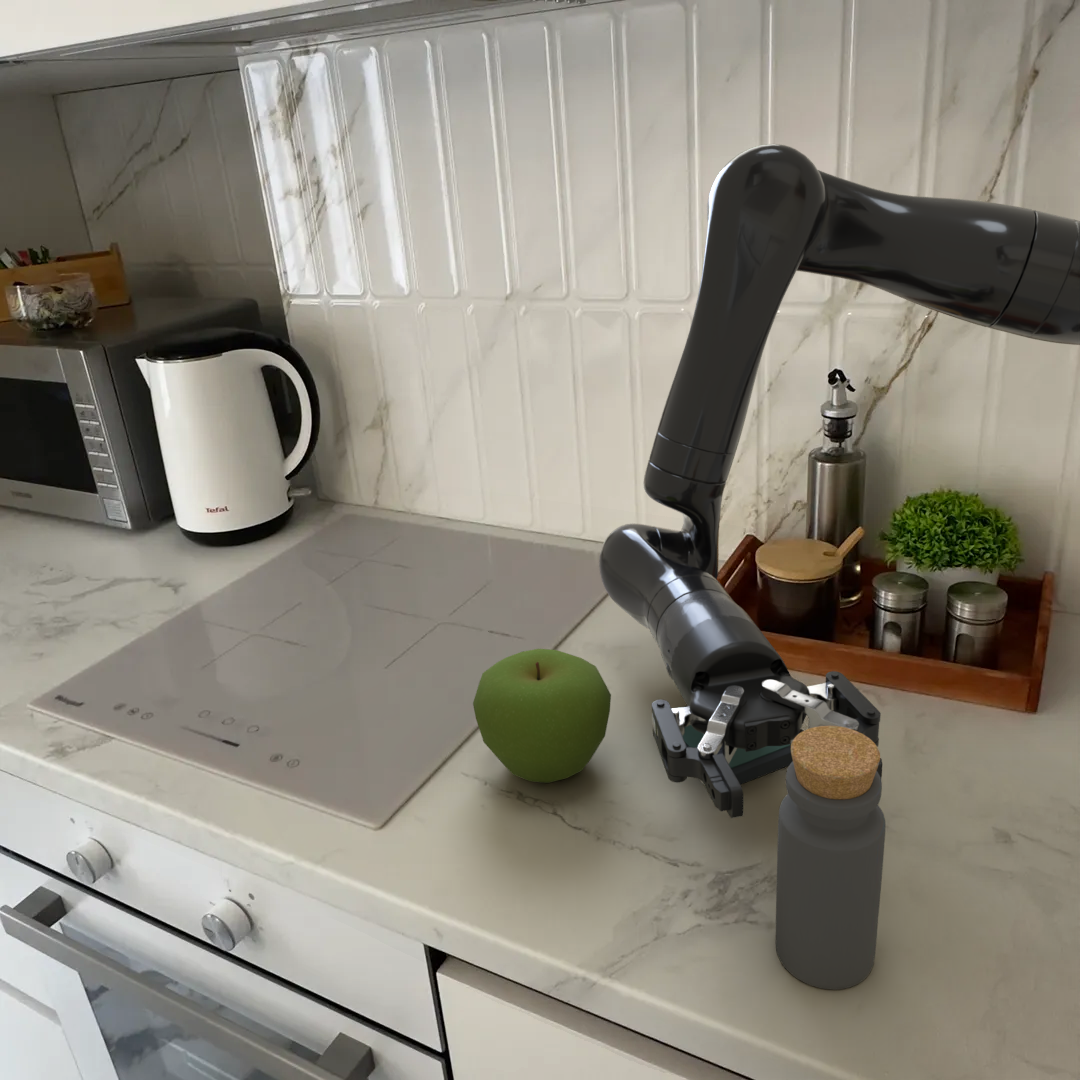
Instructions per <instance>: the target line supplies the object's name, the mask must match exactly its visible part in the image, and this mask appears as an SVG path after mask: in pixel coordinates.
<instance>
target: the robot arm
mask: <svg viewBox="0 0 1080 1080" xmlns="http://www.w3.org/2000/svg"><path fill="white" fill-rule="evenodd" d="M707 197H708V198H707V203H706V220H707V227H706V228H707V229H706V238H705V247H704V248H705V249H704V256H703V263H702V272H701V278H700V284H699V289H698V293H697V299H696V303H695V306H694V307H695V308H694V312H693V315H692V319H691V323H690V327H689V331H688V334H687V337H686V341H685V344H684V346H683V347H684V348H683V351H682V354H681V356H680V359H679V362H678V365H677V368H676V371H675V373H674V377H673V379H672V382H671V385H670V389H669V391H668V394H667V397H666V400H665V403H664V406H663V410H662V412H661V416H660V419H659V422H658V425H657V430H656V433H655V436H654V440H653V444H652V446H651V451H650V453H649V457H648V460H647V464H646V468H645V471H644V476H643V484H642V485H643V490H644V493H645V494H646V495H647V496H648V497H649V498H650V499H652V500H653V501H654V502H656V503H658V504H659V505H661V506H664V507H666V508H669V509H671V510H674V511H676V512H678V513H680V514H681V515H682V519H683V522H682V526H681V530H677V529H671V528H665V527H660V526H654V525H649V524H643V523H633V522H632V523H626V524H622V525H620V526H618V527H617V528H615V529H613V530H612V531H611V532H610V533H609V534H608V536H607V537H606V538H605V540H604V542H603V543H602V546H601V549H600V551H599V558H598V568H599V569H598V570H599V575H600V579H601V582H602V585H603V587H604V590H605V591H606V593H607V594H608V596H609V597H610V599H611V600H612V601H613V602H614V603H615V604H616V605H617V606H618V607H619V608H620V609H621V610H622V611H624V612H625V613H626V614H627V615H628V616H629V617H631V618H632V619H634V620H635V621H636V622H637V623H638V624H639V625H642V626H643V627H644V628H646V629H648V630H649V632H650V634H651V636H652V638H653V640H654V641H655V643H656V645H657V647H658V649H659V651H660V654H661V658H662V661H663V663H664V665H665V669H666V672H667V675H668V676H669V678H670V679H671V680H672V681H673V683H674V684H675V687H676V688H677V690H678V692H679V694H680V696H681V697H682V699H683V701H684V703H685V704H686V706H681V707H672V706H671V704H670V702H669V701H668V700H666V699H656V700H654V701H652V702H651V723H652V736H653V738H654V742H655V744H656V747H657V750H658V753H659V755H660V759H661V761H662V764H663V767H664V770H665V772H666V776H667V778H668V780H669V781H670V782H673V783H677V784H678V783H679V784H680V783H684V782H686V780H687V779H688V778H696V779H698V781H699V782H700V783H701V784H703V785H704V787H705V789H706V792H707V794H708V795H709V797H710V800H711V801H712V803H713V805H714V807H715V808H716V809H717V810H718V811H720V812H726V813H727V815H728V816H729V818H730V819H736V818H741V817H743V816H744V791H743V787H742V784H740V783H739V781H738V780H737V778H736V776H735V774H734V773H733V771H732V769H731V767H730V765H729V763H730V761H731V759H732V757H733V755H734V754H735V752H736V750H737V748H739V749H744V750H745V751H746V752H748V751H754V750H758V749H761V748H763V747H766V746H783V745H788V744H792V742H793V740H794V738H795V737H796V736H797V735H798V734H799V733H801V732H803V731H805V729H802V728H803V725H804V722H805V720H806V717H807V718H808V727H807V729H810V728H813V727H818V726H840V727H845V728H849V729H852V730H855V731H858V732H860V733H862V734H864V735H865V736H867V737H868V738H870V739H871V740H872V741H873V742H874V743H875V744H876V746H877V747H878V748H879V743H880V737H879V735H880V723H881V716H882V713H881V711H879V709H878V708H877V707H876V706H875V705H874V704H873V703H872V702H871V701H870V700H869V699H868V698H867V697H866V696H865V695H864V694H863V693H862V692H861V691H860V690H859V689H858V687H856V686H855V685H854V684H853V683H852V682H851V681H850V680H849V678H847V677H846V676H845V675H844V674H843V673H842V672H841V671H840V672H839V671H835V670H832V671H828V672H827V673H825V682H822V683H818V684H812V685H808V686H807V685H806V684H805V683H803V682H802V681H799V680H797V679H795V678H794V677H792V676H791V674H790V670H789V669H788V667H787V665H786V663H785V661H784V659H783V658H782V657H781V655H780V654H779V653H778V651H777V650H776V649H775V648H774V646H773V645H772V644H771V643H770V641H769V640H768V639H767V637H766V636H765V634H764V633H763V632H762V631H761V629H760V627H758V625H757V624H756V622H755V621H754V620H753V619H752V618H751V616H750V614H748V613H747V612H746V611H745V610H744V608H743V607H741V605H738V604H737V603H736V602H735V601H734V599H733V598H732V597H731V595H730V594H729V593H728V591H727V590H726V589H725V587H724V586H723V585H722V584H721V583H720V581H719V580H718V575H719V558H720V557H719V554H720V553H719V540H720V539H719V537H720V523H721V511H722V503H723V495H724V491H725V488H726V485H727V481H728V478H729V475H730V472H731V470H732V469H731V468H732V465H733V463H734V460H735V456H736V452H737V451H738V450H737V449H738V446H739V444H740V443H739V442H740V440H741V437H742V433H743V430H744V425H745V422H746V418H747V414H748V411H749V406H750V402H751V398H752V394H753V389H754V386H755V383H756V378H757V375H758V370H759V366H760V363H761V361H762V356H763V353H764V350H765V346H766V344H767V341H768V338H769V335H770V332H771V330H772V327H773V324H774V321H775V319H776V316H777V314H778V312H779V309H780V307H781V304H782V302H783V300H784V297H785V295H786V292H787V291H788V290H789V287H790V285H791V282H792V281H793V278H794V277H795V275H796V273H797V272H802V273H809V274H813V275H814V274H815V275H820V276H821V275H822V276H826V277H827V276H828V277H833V278H839V279H844V280H848V281H853V282H858V283H859V284H860V283H861V284H865V285H868V286H871V287H874V288H876V289H879V290H882V291H884V292H886V293H889V294H892V295H894V296H897V297H899V298H902V299H904V300H906V301H909V302H912V303H913V304H915V305H919V306H921V307H924V308H926V309H929V310H932V311H935V312H937V313H940V314H943V315H946V316H949V317H951V318H955V319H958V320H961V321H964V322H967V323H969V324H974V325H976V326H980V327H984V328H988V329H992V330H995V331H1000V332H1002V333H1003V332H1004V333H1007V334H1011V335H1016V336H1020V337H1023V338H1028V339H1032V340H1037V341H1043V342H1047V343H1053V344H1054V343H1055V344H1063V345H1074V346H1080V220H1077V219H1074V218H1070V217H1065V216H1061V215H1057V214H1053V213H1048V212H1044V211H1041V210H1036V209H1032V208H1027V207H1022V206H1016V205H1012V204H1011V205H1009V204H1004V203H999V202H990V201H982V200H975V199H974V200H973V199H964V198H962V199H961V198H951V197H950V198H949V197H948V198H947V197H934V196H933V197H932V196H918V195H909V194H908V195H907V194H899V193H894V192H889V191H884V190H881V189H877V188H872V187H869V186H866V185H863V184H861V183H857V182H854V181H851V180H849V179H844V178H841V177H838V176H836V175H832V174H830V173H828V172H825V171H822V170H820V169H818V168H817V167H816V165H815V163H814V162H813V161H811V159H810V158H808V156H806V155H805V154H804V153H802V152H801V151H800V150H797V149H796V148H794V147H792V146H789V145H786V144H780V143H779V144H778V143H767V144H765V143H764V144H760V145H757V146H756V145H755V146H754V147H750V148H748V149H746V150H744V151H742V152H740V153H738V154H737V155H735V156H734V157H733V158H732V159H730V160H729V161H728V162H727V163H726V164H725V165H724V166H723V167H722V169H720V171H719V172H718V174H717V176H716V177H715V179H714V181H713V183H712V185H711V187H710V190H709V193H708V196H707ZM689 725H691V726H692V727H693V728H694V729H695V730H697V731H698V732H701V733H703V734H704V736H703V738H702V740H701V741H700V743H699V745H698V747H697V748H692V747H686V744H685V741H684V739H683V736H682V735H684V734H685V728H686V727H687V726H689ZM877 772H878V774H879V775H880V778H881V779H882V776H883V759H882V758H881V757H880V762H879V765H878V768H877Z"/></svg>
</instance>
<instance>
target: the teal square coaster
mask: <svg viewBox="0 0 1080 1080" xmlns="http://www.w3.org/2000/svg"><path fill="white" fill-rule="evenodd" d="M682 736H683V739H684V741H685V744H686V747H692V748H697V747H698V745H699V743H700V741H701V740H702V738H703V736H704V734H703V733H701V732H698V731H697V730H695V729H694V728H693V727H692V726H691V725H689V726H687V727H686V728H685V734H684V735H682ZM792 761H793V759H792V754H791V744H788V745H783V746H766V747H763V748H761V749H758V750H754V751H748V752H746V751H745V750H744V749H739V748H737V750H736V752H735V754H734V755H733V757H732V759H731V761H730V763H729V765H730V767H731V769H732V771H733V773H734V774H735V776H736V778H737V780H738V781H739V783H740V785H743V784H746V783H747V782H750V781H752V780H755V779H758V778H760V777H763V776H765V775H768V774H770V773H773V772H776V771H778V770H781V769H783V768H786V767H789V765H790V764H791V762H792Z"/></svg>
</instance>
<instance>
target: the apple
mask: <svg viewBox="0 0 1080 1080" xmlns="http://www.w3.org/2000/svg"><path fill="white" fill-rule="evenodd" d="M607 686H608V685H607V684H606V682H605V680H604V678H603V677H602V674H601V673H600V671H599V670H598V667H597V666H596V665H595V664H593V663H591V662H590V661H588V660H586V659H584V658H582V657H580V656H576V655H574V654H570V653H568V652H564V651H561V650H557V649H549V648H548V649H547V648H536V649H535V648H534V649H528V650H524V651H520V652H517V653H515V654H511V655H509V656H507V657H504V658H502V659H501V660H498V661H497V662H495V663H494V664H493V665H491V666H490V667H489V668H487V669H486V670H485V671H483V672H482V675H481V677H480V679H479V683H478V686H477V688H476V691H475V692H476V693H475V695H474V699H473V702H472V706H473V711H474V712H473V713H474V715H475V716H474V717H475V720H476V723H477V726H478V729H479V733H480V735H481V738H482V741H483V743H484V745H486V747H487V748H488V749H489V750H490V751H491V752H492V753H493V755H494V756H495V757H496V758H497V759H498V761H500V763H501V764H502V765H503V766H504V767H505V768H506V769H507V770H508V771H509V772H510V773H511V774H512V775H513V776H515V777H518V778H520V779H523V780H525V781H528V782H533V783H540V784H541V783H543V784H548V783H553V782H557V781H561V780H565V779H568V778H570V777H572V776H574V775H576V774H578V773H580V772H582V771H583V770H584V769H585V767H586V766H587V765H588V763H590V761H591V760H592V758H593V756H594V754H595V753H596V751H597V750H598V748H599V747H600V745H601V743H602V742H603V740H604V739H605V737H606V733H607V728H608V722H609V718H610V712H611V701H612V693H611V692H610V690H609V687H607Z"/></svg>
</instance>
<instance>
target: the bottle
mask: <svg viewBox="0 0 1080 1080" xmlns="http://www.w3.org/2000/svg"><path fill="white" fill-rule="evenodd" d="M791 754H792V759H793V761H792V762H791V764H790V765H789V766H787V770H786V773H785V788H786V793H787V794H786V795H785V796H784V797H783V799H782V800H781V802H780V805H779V809H778V819H777V820H778V821H777V822H778V824H777V850H776V855H777V856H776V893H775V949H776V954H777V956H778V959H779V961H780V962H781V964H782V966H783V967H784V969H786V970H787V971H788V972H789V973H790V974H791V975H792V976H793V977H794V978H796V979H797V980H799V981H801V982H803V983H804V984H807V985H809V986H811V987H815V988H818V989H824V990H836V991H837V990H844V989H848V988H851V987H855V986H857V985H858V984H860V983H861V982H863V981H864V980H865V979H866V978H867V977H868V976H869V975H870V973H871V972H872V969H873V967H874V964H875V963H874V962H875V956H876V947H877V939H878V938H877V936H878V925H879V915H880V914H879V913H880V903H881V891H882V879H883V868H884V867H883V866H884V855H885V840H886V819H885V815H884V812H883V810H882V809H881V807H880V806H879V804H880V801H881V798H882V791H883V782H882V777H881V778H880V775H879V774H878V772H877V768H878V765H879V762H880V758H881V752H880V749H879V746H878V747H877V746H876V744H875V743H874V742H873V741H872V740H871V739H870V738H868V737H867V736H865V735H864V734H862V733H860V732H858V731H855V730H852V729H849V728H845V727H840V726H818V727H813V728H810V729H808V728H807V729H804V731H803V732H801V733H799V734H798V735H797V736H796V737H795V738H794V740H793V742H792V744H791Z"/></svg>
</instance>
